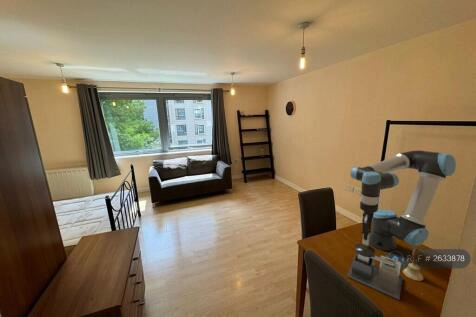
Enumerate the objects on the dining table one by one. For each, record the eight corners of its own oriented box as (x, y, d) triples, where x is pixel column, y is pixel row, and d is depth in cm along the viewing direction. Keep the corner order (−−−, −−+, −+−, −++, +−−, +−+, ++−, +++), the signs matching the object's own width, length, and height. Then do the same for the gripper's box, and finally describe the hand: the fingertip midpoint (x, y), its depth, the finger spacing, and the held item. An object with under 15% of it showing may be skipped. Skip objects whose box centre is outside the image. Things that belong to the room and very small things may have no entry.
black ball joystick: (356, 255, 113) (357, 241, 111) (393, 269, 102) (395, 254, 100) (351, 264, 107) (353, 249, 105) (391, 280, 96) (393, 264, 94)
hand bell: (399, 272, 108) (402, 246, 104) (408, 266, 111) (412, 241, 107) (417, 283, 100) (422, 255, 97) (427, 277, 103) (431, 250, 100)
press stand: (354, 260, 118) (356, 239, 115) (402, 278, 103) (405, 256, 100) (346, 276, 106) (348, 254, 104) (399, 300, 92) (402, 275, 89)
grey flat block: (384, 262, 99) (384, 261, 99) (394, 266, 97) (395, 265, 97) (384, 264, 98) (384, 263, 98) (394, 268, 96) (394, 267, 96)
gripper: (363, 196, 107) (360, 235, 112) (357, 205, 98) (354, 247, 102) (380, 199, 102) (376, 240, 107) (375, 209, 93) (371, 253, 97)
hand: (365, 243), depth 105 cm, fingers closed
